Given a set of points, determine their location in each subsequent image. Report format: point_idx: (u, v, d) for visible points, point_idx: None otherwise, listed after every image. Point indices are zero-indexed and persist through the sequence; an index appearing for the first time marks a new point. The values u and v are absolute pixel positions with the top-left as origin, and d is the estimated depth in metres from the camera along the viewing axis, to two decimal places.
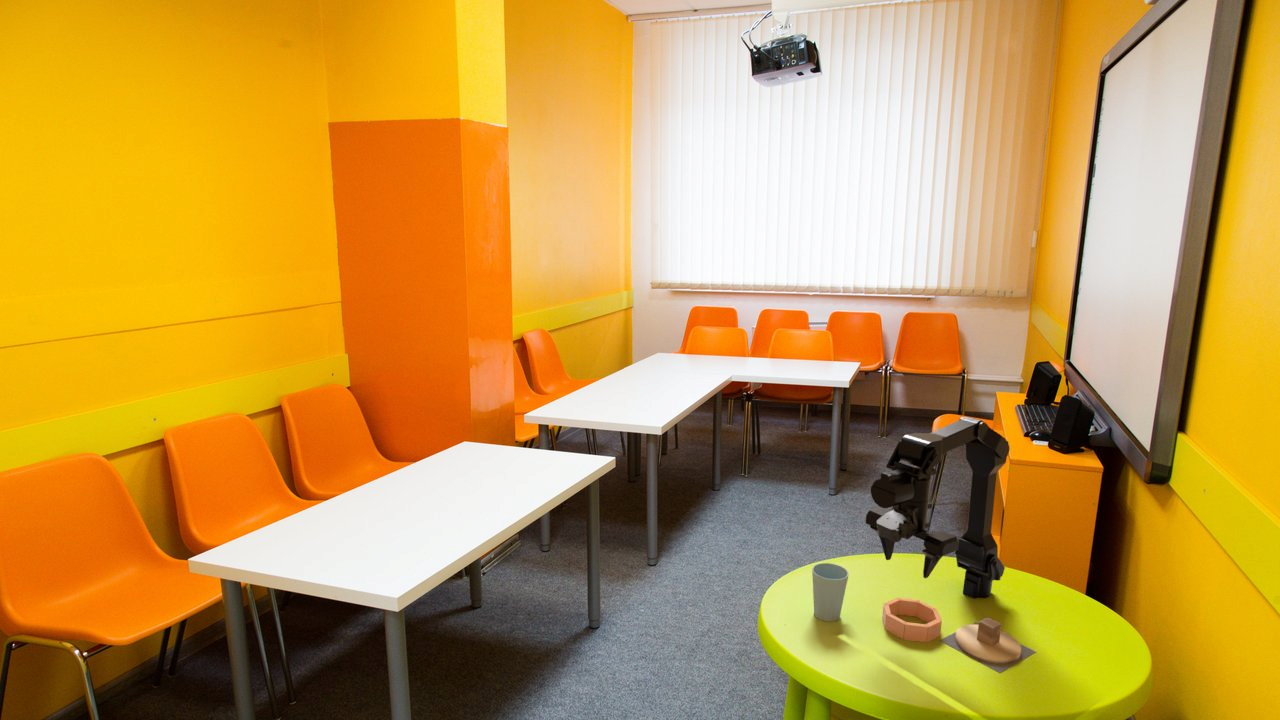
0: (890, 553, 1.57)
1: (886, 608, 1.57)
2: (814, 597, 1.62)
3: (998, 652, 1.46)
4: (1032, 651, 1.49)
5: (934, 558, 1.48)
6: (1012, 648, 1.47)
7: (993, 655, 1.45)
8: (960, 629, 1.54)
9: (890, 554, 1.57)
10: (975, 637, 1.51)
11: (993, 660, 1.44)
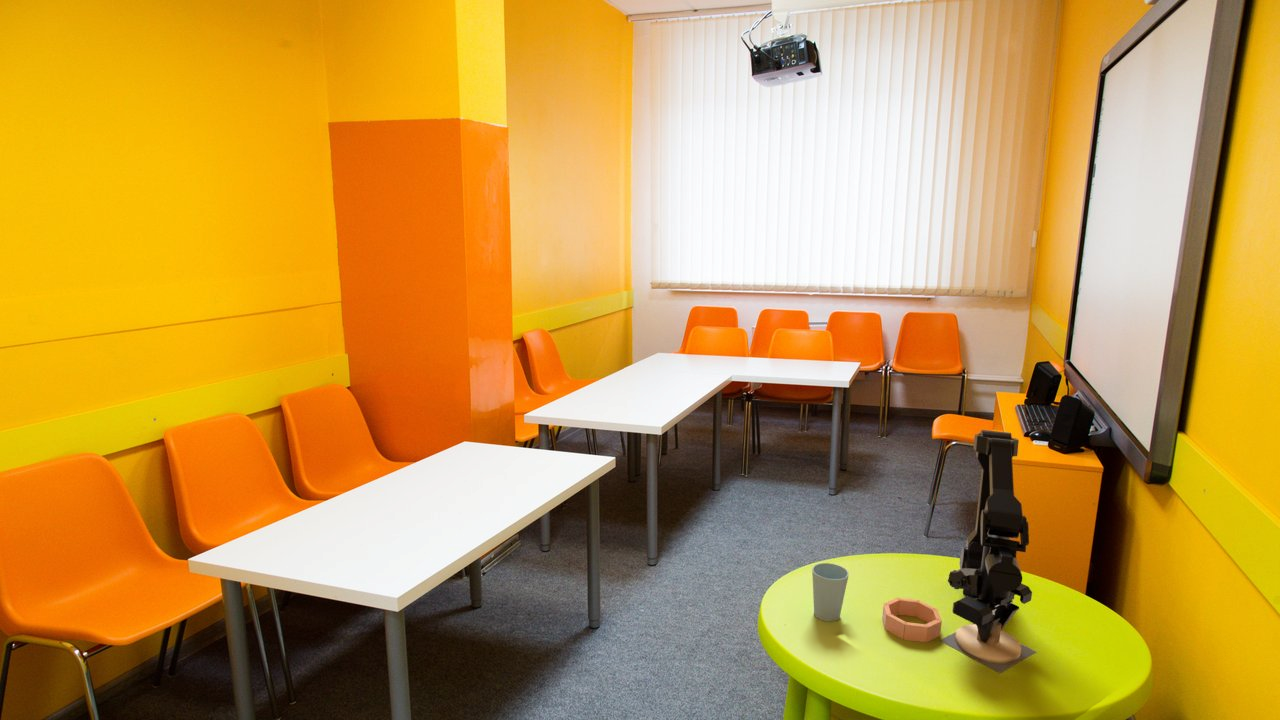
0: None
1: (886, 608, 1.57)
2: (814, 597, 1.62)
3: (998, 652, 1.46)
4: (1032, 651, 1.49)
5: (984, 623, 1.47)
6: (1012, 648, 1.47)
7: (993, 655, 1.45)
8: (960, 629, 1.54)
9: None
10: (975, 637, 1.51)
11: (993, 660, 1.44)
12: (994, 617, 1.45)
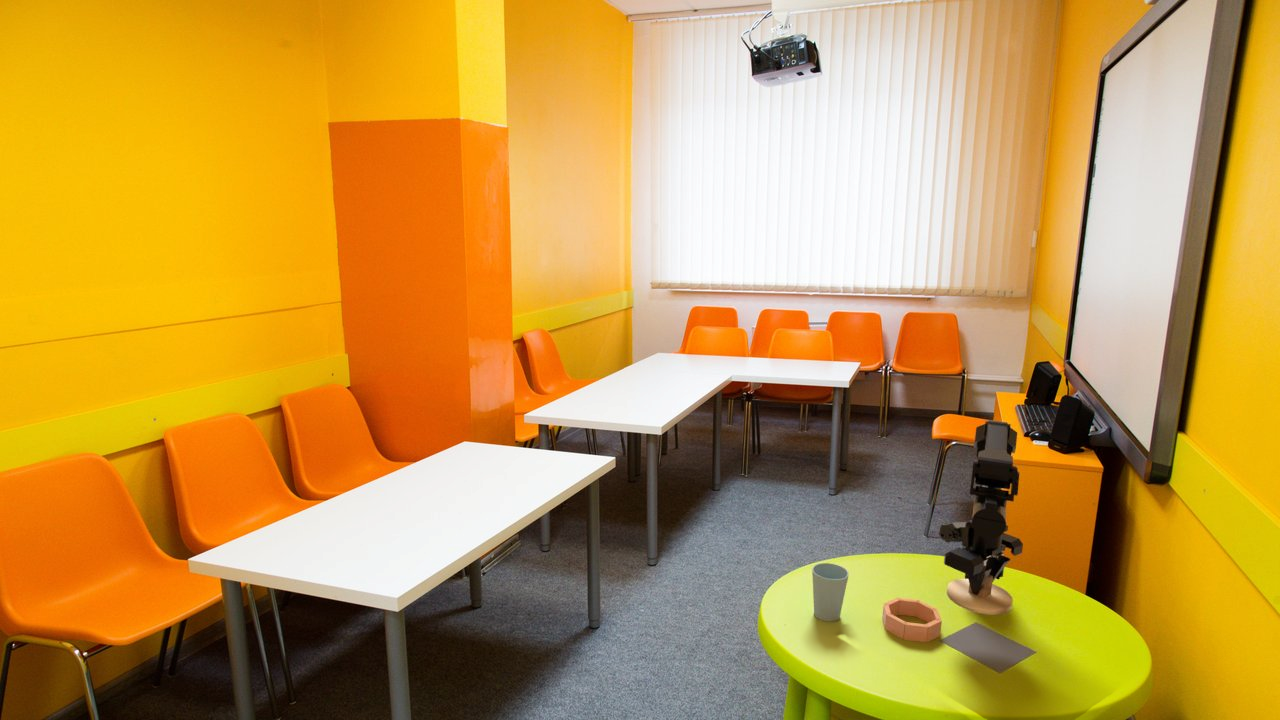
0: None
1: (886, 608, 1.57)
2: (814, 597, 1.62)
3: (990, 603, 1.45)
4: (1032, 651, 1.49)
5: (976, 575, 1.46)
6: (1004, 600, 1.47)
7: (985, 606, 1.44)
8: (951, 583, 1.53)
9: None
10: (967, 590, 1.50)
11: (985, 611, 1.44)
12: (985, 568, 1.44)
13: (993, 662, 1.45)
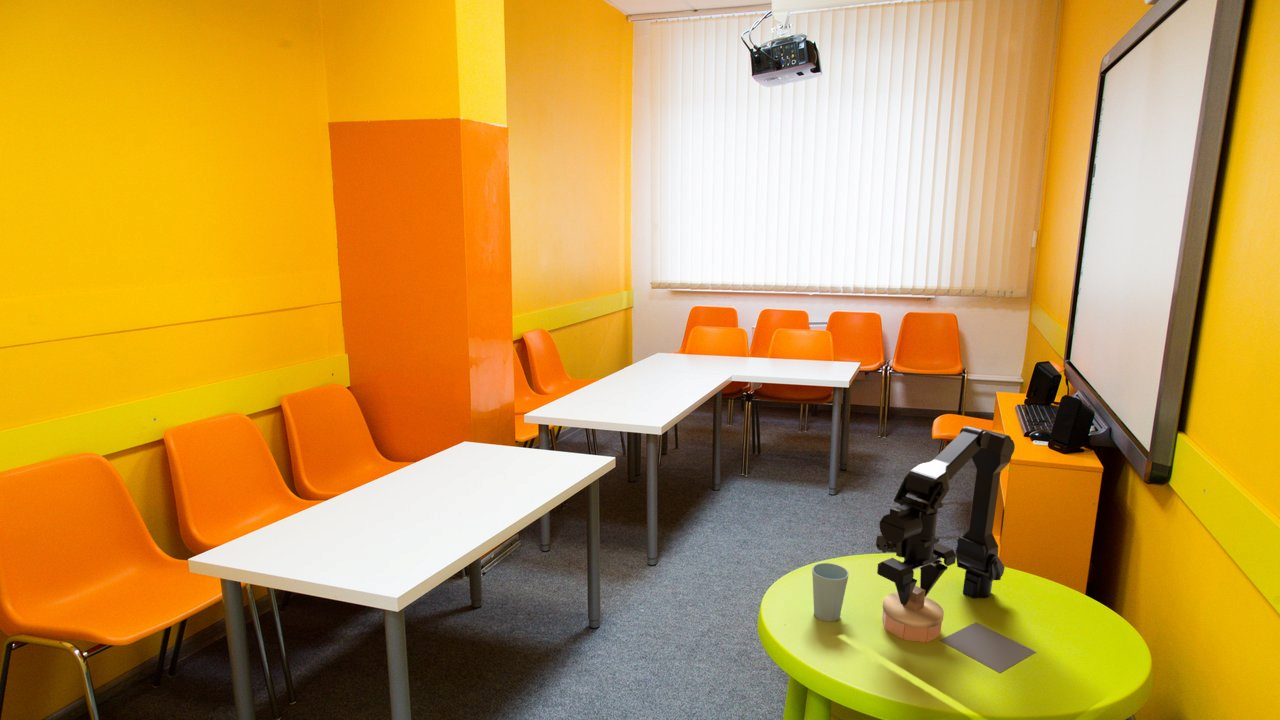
0: None
1: None
2: (814, 597, 1.62)
3: (921, 616, 1.52)
4: (1032, 651, 1.49)
5: (903, 586, 1.52)
6: (935, 613, 1.53)
7: (915, 619, 1.51)
8: (888, 596, 1.60)
9: None
10: None
11: (915, 624, 1.50)
12: (911, 579, 1.50)
13: (993, 662, 1.45)
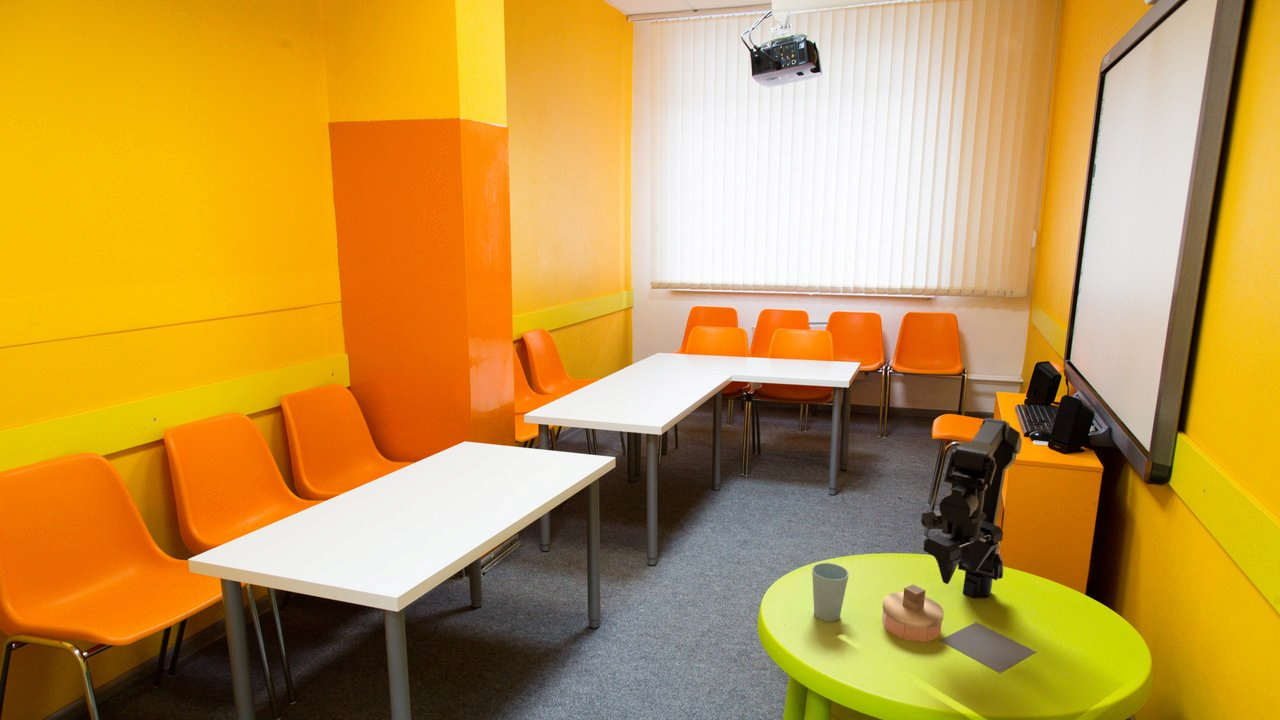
0: (974, 566, 1.56)
1: None
2: (814, 597, 1.62)
3: (921, 616, 1.52)
4: (1032, 651, 1.49)
5: (945, 564, 1.50)
6: (935, 613, 1.53)
7: (915, 619, 1.51)
8: (888, 596, 1.60)
9: (974, 567, 1.56)
10: (901, 603, 1.57)
11: (915, 624, 1.50)
12: None
13: (993, 662, 1.45)
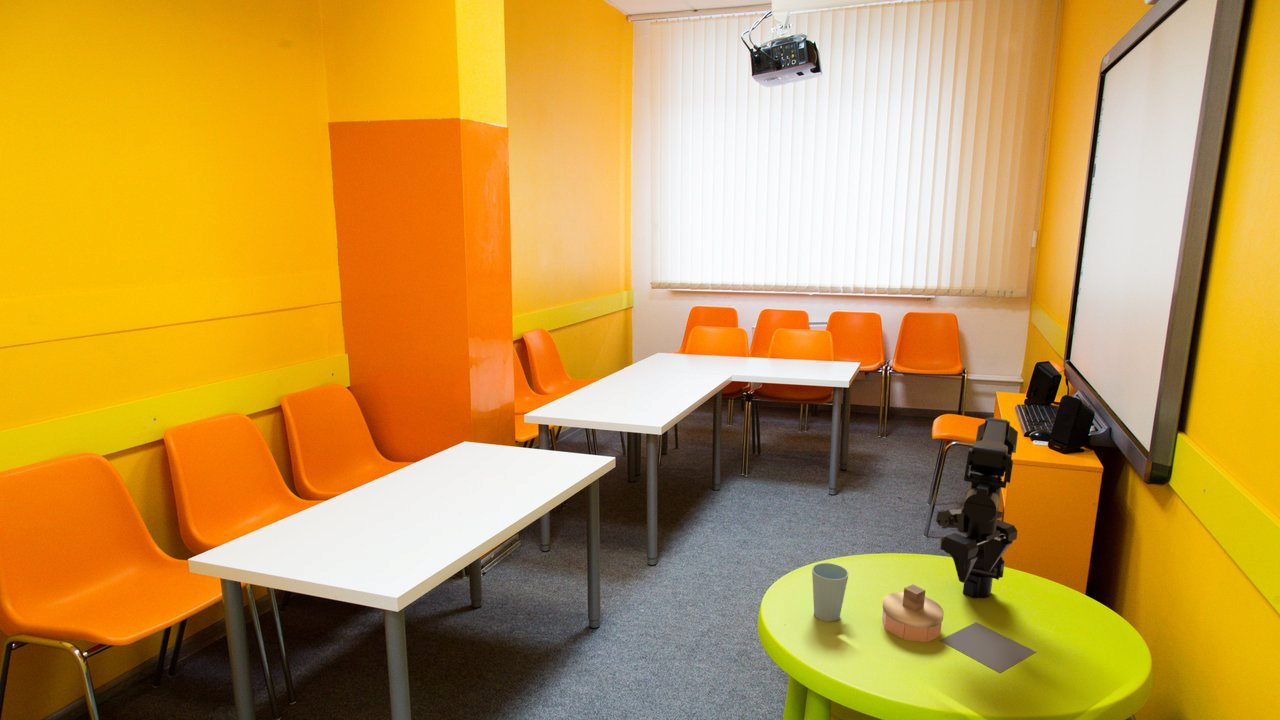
0: (988, 565, 1.56)
1: None
2: (814, 597, 1.62)
3: (921, 616, 1.52)
4: (1032, 651, 1.49)
5: (962, 563, 1.50)
6: (935, 613, 1.53)
7: (915, 619, 1.51)
8: (888, 596, 1.60)
9: (988, 566, 1.56)
10: (901, 603, 1.57)
11: (915, 624, 1.50)
12: None
13: (993, 662, 1.45)
